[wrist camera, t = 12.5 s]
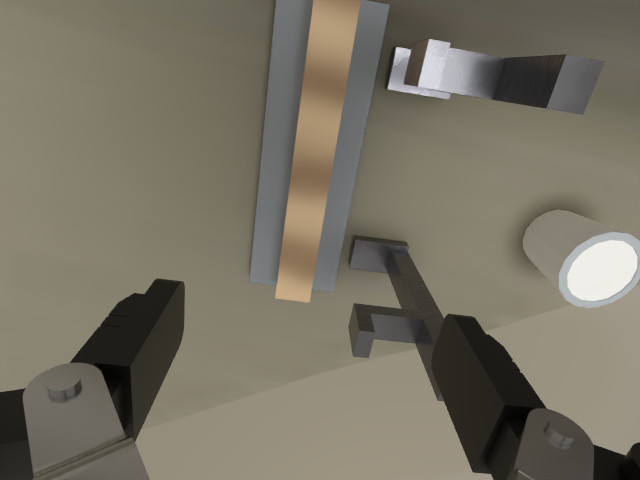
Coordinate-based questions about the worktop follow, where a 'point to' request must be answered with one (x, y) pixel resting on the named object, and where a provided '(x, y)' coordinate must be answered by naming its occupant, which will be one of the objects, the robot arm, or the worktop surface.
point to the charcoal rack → (440, 81)
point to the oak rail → (315, 142)
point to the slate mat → (282, 130)
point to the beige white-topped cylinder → (583, 257)
